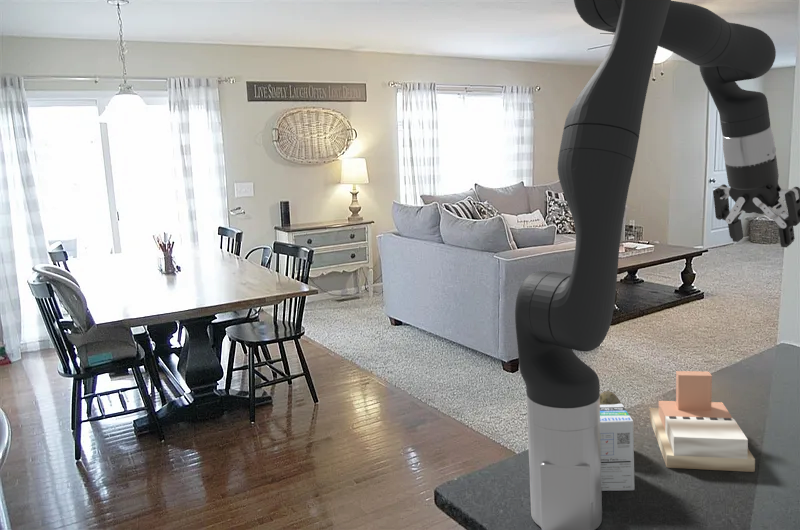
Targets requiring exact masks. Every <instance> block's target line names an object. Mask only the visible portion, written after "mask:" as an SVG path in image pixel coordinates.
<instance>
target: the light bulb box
mask: <svg viewBox="0 0 800 530" xmlns="http://www.w3.org/2000/svg"><path fill="white" fill-rule="evenodd" d="M634 438H635V437H634V420H633V418H632V417H631V415H630V414H629V413H628V411H627V410H626V409H625V406H624V405H623V403H621V404H603V405H600V446H601V492H605V491H607V492H611V491H613V492H615V491H617V492H618V491H619V492H620V491H635V453H634V452H635V443H634Z"/></svg>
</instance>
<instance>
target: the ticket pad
mask: <svg viewBox="0 0 800 530" xmlns="http://www.w3.org/2000/svg"><path fill="white" fill-rule="evenodd" d="M649 421H650V424H651V427H652V429H653V432H654V434H655V438H656V440H657V444H658V446H659V449H660V453H661V455H662V458H663V461H664V463H665V467H666V468H669V469H670V468H671V469H689V470H706V471H709V470H710V471H727V472H728V471H730V472H747V473H748V472H749V473H750V472H751V473H755V471H756V470H755V469H756V458H755V457H754V455H753V454H752V452H751V450H750V449H749V447H748V446H749V444H748V443H749V439H748V438H747V436H746V435H745V433H744V431H743V430H742V429H741V427H740V425H739V424H738V423H737V421H736V419H734V418H733V417H732V418H711V417H678V416H665V429H664V426H663V424H662V421H661V419H660V416H659V407H649Z"/></svg>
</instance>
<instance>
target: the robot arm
mask: <svg viewBox="0 0 800 530" xmlns="http://www.w3.org/2000/svg"><path fill="white" fill-rule="evenodd" d="M573 3H574V8H575V9H576V12H577V14H578V15H579V17H580V19H581V20H582V21H583V22H584V23H585V24H587V25H589V26H590V27H591V28H594V29H596V30H598V31H599V30H600V31H604V32H608V33H614V35H613V38H612V40H611V41H612V42H611V44H610V46H609V48H608V51H607V53H606V54H605V57H604V58H603V60H602V61H601V63H600V65H599V66H598V67H597V69H596V71H595V72H594V73H593V74H592V76H591V77H590V79H589V80H588V82H587V83H586V84H585V86H584V87H583V89H582V90H581V91H580V92H579V94H578V96H577V98H576V99H575V100H574V102H573V104H572V106H571V108H570V109H569V111H568V113H567V116H566V119H565V122H564V125H563V126H564V127H563V132H562V136H561V141H560V148H559V152H558V160H557V175H558V180H559V184H560V187H561V191H562V192H563V193H562V194H563V195H564V198H565V200H566V204H567V206H568V208H569V211H570V214H571V218H572V220H573V225H574V230H575V232H574V233H575V247H574V249H575V250H574V257H573V264H572V269H571V273H568V272H567V273H565V272H560V271H559V272H558V271H550V270H540V271H538V270H537V271H534V272H533V273H530V274H529V275H528V276H526V278H525V279H524V280H522V282H521V285H520V286H519V289H518V290H517V295H516V300H515V306H514V307H515V308H514V320H515V321H514V322H515V323H514V324H515V333H516V335H515V336H516V344H517V345H516V346H517V355H518V366H519V372H520V375H521V377H522V379H523V381H524V384H525V389H526V390H525V391H526V393H525V394H526V415H527V416H526V419H527V420H526V421H527V441H528V442H527V444H528V464H529V465H528V466H529V467H528V470H529V491H530V515H531V518H532V520H533V521H534V522H535V524H536V525H537V526H538V527H540V528H541V530H596V529H598V528H599V526H600V525H601V524H602V522H603V506H602V504H603V503H602V502H603V500H602V497H603V495H602V491H601V446H600V394H601V393H600V392H601V391H600V388H601V387H600V379H599V376H598V374H597V373H596V371H595V370H594V369H592V367H590V366H589V365H588V364H586V362H584V361H583V360H581V359H580V358H579V357H578V355H577V354H576V353H575V352H574V351H579V352H591V351H595V350H596V349H598V347H599V346H600V345H602V343H603V342H604V340H605V339H606V337H607V335H608V333H609V330H610V328H611V324H612V321H613V320H612V319H613V316H614V315H613V314H614V309H615V303H616V294H617V293H616V291H617V282H618V281H617V280H618V269H619V256H620V246H621V239H622V230H623V223H624V217H625V212H626V206H627V199H628V195H629V194H628V193H629V188H630V183H631V179H632V174H633V170H634V166H635V161H636V157H637V150H638V145H639V141H640V140H639V139H640V135H641V125H642V119H643V114H644V109H645V102H646V99H647V97H646V96H647V92H648V87H649V83H650V78H651V74H652V70H653V65H654V62H655V58H656V54H657V52H658V51H657V50H658V47H660V48H663V49H665V50H667V51H669V52H672V53H674V54H676V55H677V56H679V57H681V58H683V59H685V60H687V61H688V62H690V63H692V64H694V65H696V66H699V72H700V75H701V76H700V77H701V78H702V81H703V83H704V84H705V86H706V89H707V90H708V92H709V94H710V96H711V98H712V100H713V103H714V105H715V107H716V109H717V110H718V114H719V121H720V128H721V133H722V152H723V158H724V165H725V172H726V178H727V182H728V183H727V184H728V186H729V187H728V186H727V185H726V184H721V185H720V186H718V187H716V188H715V189H714V190H713V191H712V192H713V202H714V203H713V204H714V212H715V218H716V219H717V220H719V221H721V220H723V221H725V222H726V223H727V227H728V234H729V236H730V239H732V242H734V243H735V242H736V243H738V242H740V241H741V240H743V239H744V231H743V225H742V219H740V217H741V215H743V213H745V214H752V213H755V214H758V215H764V214H765V215H766V216H767V217H768V218H769V220H772V221H774V222H775V223H776V224H777V225H778V226H779V228H778V233H779V241H780V242H779V243H780V248H789V246H791V244H792V243H794V241H795V231H794V227H795V226H798V225H799V224H800V186H793V187H792V188H787V189H786V188H785V189H784V188H783V189H782V188H781V187H780V185H779V175H780V174H779V169H778V167H779V166H778V160H777V148H776V145H775V144H776V143H775V139H774V138H775V137H774V134H773V130H772V126H771V118H770V110H769V102H768V98H767V96H766V94H764V93H763V92H760V91H757V90H756V91H755V90H747V89H743V88H741V87H740V86H739V85H738V84H737V82H740V81H748V80H755V79H757V78H760V77H763V76H764V75H765V74H767V73H768V72H769V71H770V70H771V68H772V67H773V66H774V63H775V60H776V56H777V54H776V53H777V51H776V50H777V49H776V47H775V43H774V41H773V39H772V38H771V37H770V35H769V34H767V33H766V32H765V31H763V30H761V29H759V28H756V27H752V26H750V25H746V24H745V25H744V24H740V23H735V22H729V21H727V20H725V19H724V18H723V17H721V16H720V15H718V14H716V13H715V12H713V10H710V9H709V8H707V7H704V6H701V5H697V4H694V3H689V2H684V1H678V0H573ZM729 197H730V199H732V200H733V202H735V204H733V206H732V208H731V209H730V201H729V200H730V199H729ZM780 198H781V199H782V201H781V199H780ZM785 204H786V205H785ZM773 208H775V210H774V209H773Z"/></svg>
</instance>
